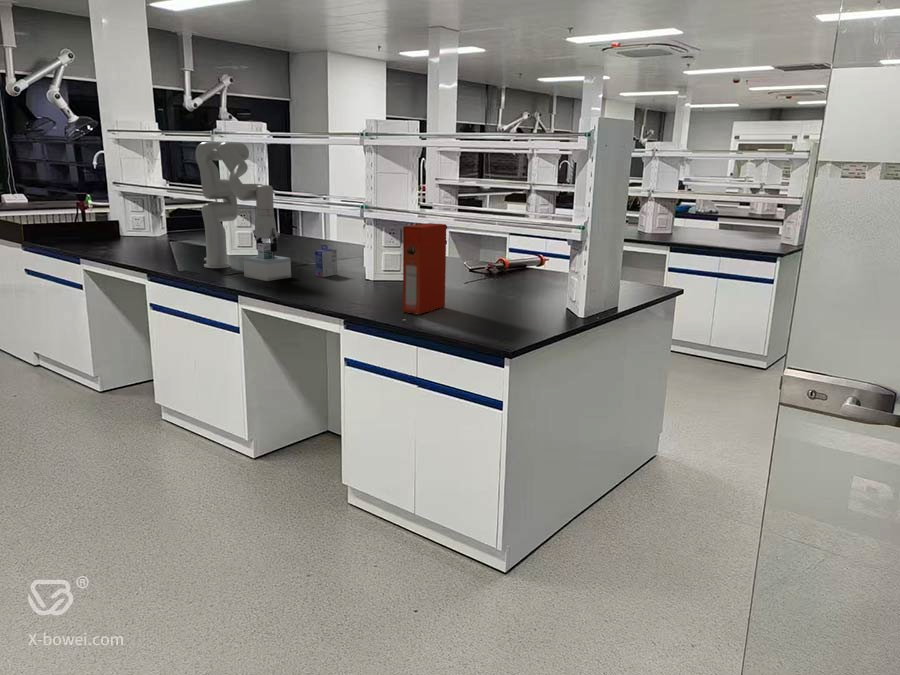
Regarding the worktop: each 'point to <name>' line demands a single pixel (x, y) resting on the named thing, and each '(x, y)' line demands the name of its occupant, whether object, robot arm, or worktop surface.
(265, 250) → the syrup box
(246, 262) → the drop box
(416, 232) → the file binder
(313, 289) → the worktop surface
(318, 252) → the ink cartridge box
